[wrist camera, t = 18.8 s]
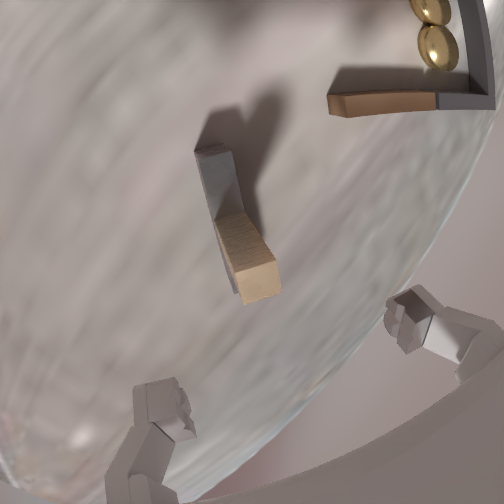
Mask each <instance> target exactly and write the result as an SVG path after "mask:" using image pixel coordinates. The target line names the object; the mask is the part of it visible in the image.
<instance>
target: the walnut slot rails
mask: <svg viewBox="0 0 504 504" xmlns="http://www.w3.org/2000/svg"><path fill="white" fill-rule="evenodd" d="M327 100H328V108H329V114H331V115H336V116H340V117H345V118H352V117H360V116H368V115H377V114H387V113H399V112H412V111H430V110H436V100H435V93H434V92H428V91H421V90H381V91H363V92H350V93H339V94H329V95H327Z"/></svg>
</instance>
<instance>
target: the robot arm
mask: <svg viewBox="0 0 504 504" xmlns="http://www.w3.org/2000/svg"><path fill="white" fill-rule="evenodd" d="M386 307H387V308H388V309H387V311H386V312H385V314H384V325H385V328H386V329H387V331H388V333H389V334H390V335H391V336H393V337H396V338H397V344H398V345H399V346H400V347H401V349H402V350H403V351H404V352H405V353H406V354H408V353H410V352H412V351H414V350H416V349H418V348H419V347H421V346H423V347H424V348H426V349H428V350H430V351H432V352H435V353H437V354H439V355H441V356H443V357H445V358H447V359H450V360H452V361H453V362H456V363H458V364H459V366H458V368H457V370H456V371H455V375H454V376H455V377H456V379H457V380H458V381H459V383H460V384H461V385H460V386H458V387H457V388H456V389H454V390H453V391H452V392H450V393H449V394H448V395H446V396H445V397H443V398H442V399H441V400H439V401H438V402H437V403H435V404H433V405H432V406H431V407H429V408H428V409H426V410H424V411H423V412H421V413H420V414H419V415H417V416H415V417H413V418H412V419H410V420H409V421H407V422H405V423H404V424H402V425H400V426H399V427H397V428H395V429H393V430H392V431H390V432H388V433H386V434H385V435H383V436H381V437H379V438H377V439H375V440H374V441H372V442H370V443H368V444H366V445H364V446H362V447H360V448H358V449H356V450H354V451H351V452H349V453H347V454H345V455H343V456H341V457H338V458H336V459H334V460H332V461H329V462H327V463H324V464H322V465H320V466H318V467H315V468H312V469H310V470H307V471H305V472H302V473H299V474H296V475H294V476H291V477H288V478H285V479H282V480H279V481H276V482H273V483H270V484H266V485H263V486H260V487H256V488H253V489H249V490H245V491H242V492H238V493H234V494H230V495H225V496H221V497H216V498H211V499H207V500H202V501H196V502H190V503H184V504H504V331H503V330H502V329H501V327H499V326H498V325H497V324H496V323H495V322H494V321H493V320H490V319H487V318H483V317H480V316H477V315H474V314H470V313H467V312H463V311H460V310H457V309H454V308H451V307H445V308H444V306H443V305H441V304H440V303H439V302H438V301H437V300H436V299H435V298H434V297H433V296H432V295H431V294H430V293H429V292H428V291H427V290H426V289H425V288H424V287H422V286H421V285H419V284H418V285H415V286H413V287H412V288H409V289H407V290H405V291H403V292H401V293H399V294H397V295H395V296H393V297H390V298H388V300H387V301H386ZM133 409H134V424H135V426H133V427H131V428H130V430H129V432H128V433H127V435H126V437H125V439H124V441H123V443H122V445H121V446H120V448H119V450H118V452H117V454H116V456H115V458H114V460H113V461H112V463H111V465H110V467H109V469H108V471H107V473H106V475H105V489H106V499H107V504H179V502H178V498H177V494H176V492H175V491H174V490H172V489H170V488H168V487H166V486H164V485H162V481H163V478H164V475H165V472H166V469H167V467H168V464H169V461H170V458H171V455H172V453H173V450H174V447H175V443H177V442H181V441H185V440H189V439H193V438H196V437H197V436H196V431H195V427H194V422H193V421H192V419H191V418H190V417H189V415H190V413H191V407H190V403H189V400H188V397H187V395H186V393H185V391H184V390H183V388H180V387H179V385H178V381H177V380H176V379H175V377H172V378H168V379H163V380H159V381H155V382H150V383H146V384H141V385H137V386H134V388H133Z"/></svg>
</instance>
